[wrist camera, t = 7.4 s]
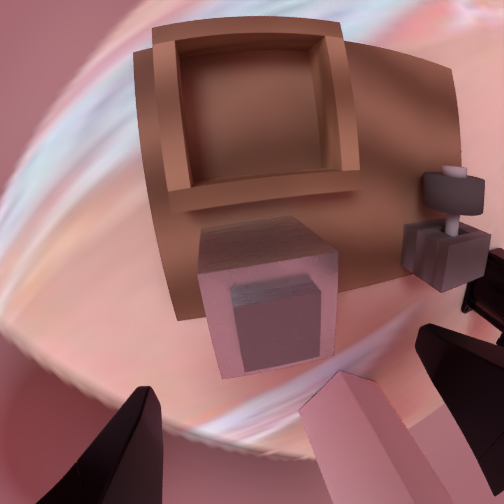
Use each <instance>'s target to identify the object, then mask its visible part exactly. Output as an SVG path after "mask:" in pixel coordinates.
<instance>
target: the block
mask: <svg viewBox="0 0 504 504" xmlns="http://www.w3.org/2000/svg"><path fill="white" fill-rule="evenodd" d="M197 277H198V281H199V286H200V291H201V295H202V300H203V305H204V309H205V313H206V318H207V322H208V326H209V331H210V335H211V339H212V343H213V347H214V351H215V355H216V359H217V363H218V367H219V370H220V374H221V378H222V379H227V378H233V377H240V376H246V375H251V374H257V373H262V372H267V371H272V370H277V369H282V368H286V367H291V366H295V365H300V364H304V363H308V362H312V361H316V360H320V359H324V358H327V357H331V356H334V344H335V331H336V315H337V294H338V251H337V250H336V249H335V248H333V247H332V246H331V245H330V244H328V243H327V242H326V241H325V240H323V239H322V238H321V237H319V236H318V235H317V234H315V233H314V232H313V231H312V230H310V229H309V228H308V227H306V226H305V225H304V224H302V223H301V222H300V221H298V220H297V219H296V218H294V217H293V216H292V215H290V216H283V217H275V218H268V219H261V220H254V221H247V222H240V223H233V224H227V225H220V226H214V227H207V228H201V231H200V243H199V255H198V269H197Z"/></svg>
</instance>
